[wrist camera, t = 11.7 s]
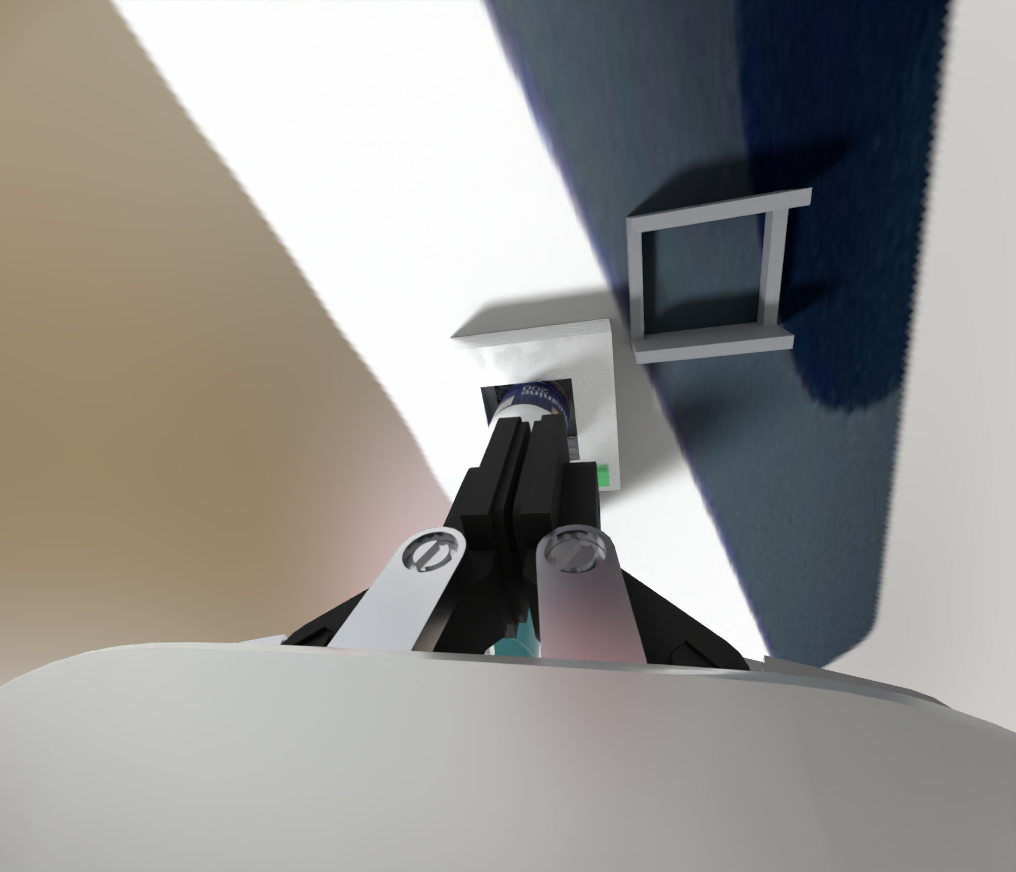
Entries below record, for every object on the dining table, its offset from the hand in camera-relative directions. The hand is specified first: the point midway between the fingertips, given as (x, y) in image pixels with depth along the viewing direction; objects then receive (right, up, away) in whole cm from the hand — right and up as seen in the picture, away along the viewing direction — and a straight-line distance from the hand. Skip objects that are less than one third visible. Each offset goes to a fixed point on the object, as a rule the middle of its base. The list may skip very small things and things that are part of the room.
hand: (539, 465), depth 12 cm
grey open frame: (+12, +11, +18) cm, 24 cm away
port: (+2, +3, +24) cm, 24 cm away
